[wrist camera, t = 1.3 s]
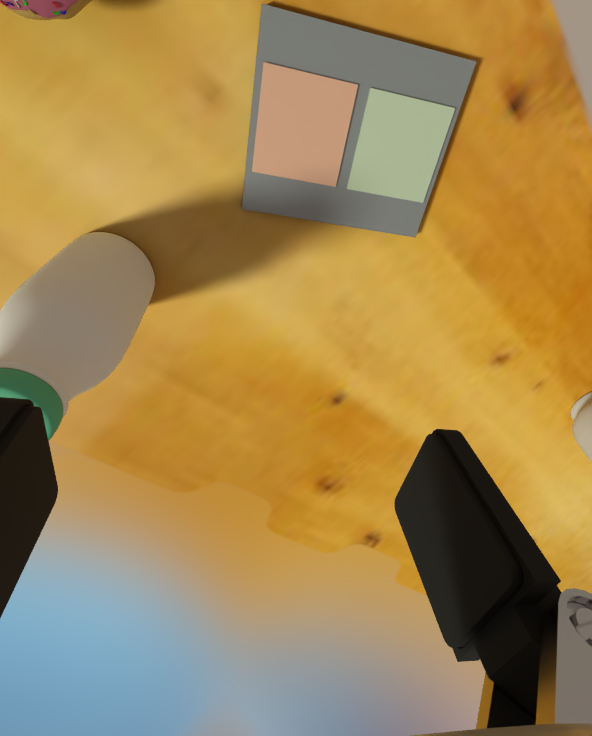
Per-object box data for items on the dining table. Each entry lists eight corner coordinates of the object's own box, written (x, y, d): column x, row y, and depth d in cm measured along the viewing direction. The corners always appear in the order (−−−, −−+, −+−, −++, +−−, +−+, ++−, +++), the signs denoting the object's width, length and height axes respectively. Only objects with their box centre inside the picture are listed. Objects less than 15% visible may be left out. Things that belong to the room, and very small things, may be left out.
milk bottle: (94, 209, 32) (-59, 324, 16) (173, 270, 36) (116, 414, 19) (49, 275, 35) (-122, 432, 18) (127, 325, 38) (42, 494, 22)
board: (261, 5, 26) (262, 2, 25) (471, 62, 29) (478, 61, 28) (241, 207, 33) (241, 209, 32) (412, 234, 36) (416, 238, 36)
